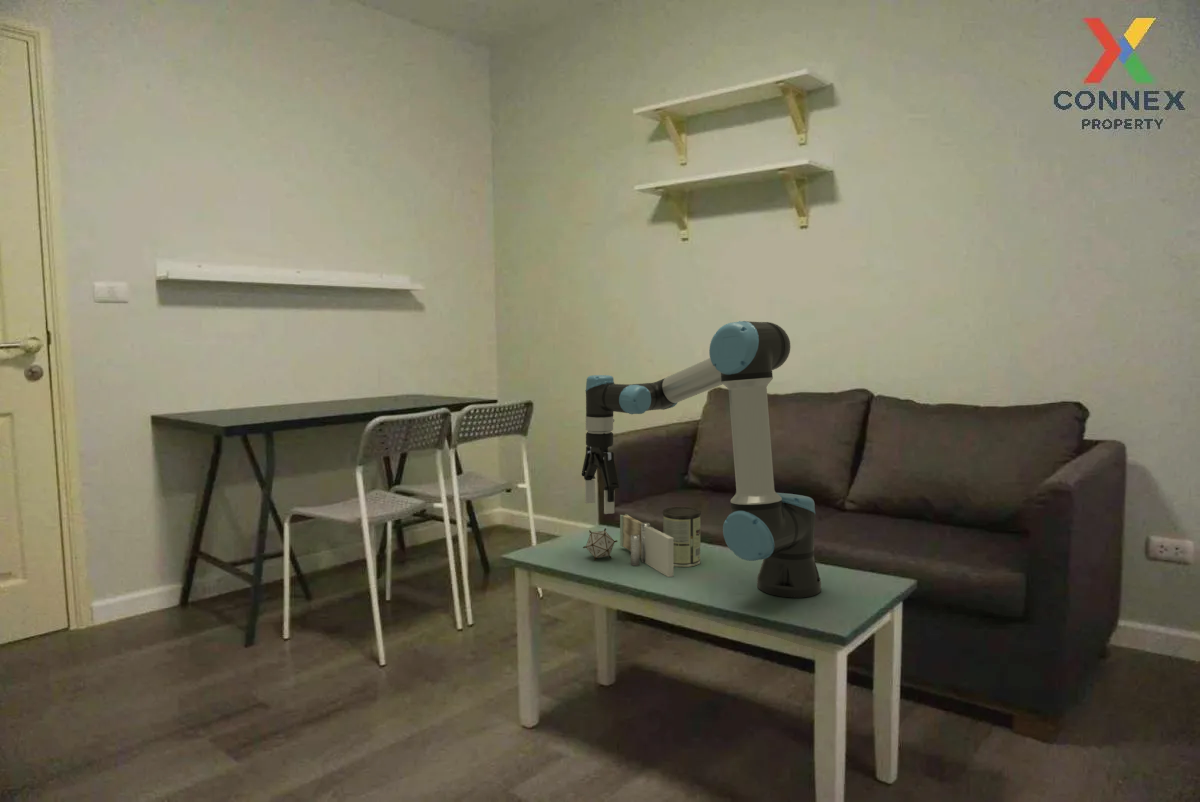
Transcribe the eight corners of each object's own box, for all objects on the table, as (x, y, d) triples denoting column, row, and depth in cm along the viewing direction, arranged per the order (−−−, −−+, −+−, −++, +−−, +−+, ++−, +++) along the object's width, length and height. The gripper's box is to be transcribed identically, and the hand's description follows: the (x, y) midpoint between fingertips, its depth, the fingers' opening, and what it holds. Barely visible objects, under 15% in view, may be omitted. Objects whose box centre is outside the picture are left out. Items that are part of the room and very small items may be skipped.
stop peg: (641, 565, 207) (641, 536, 206) (633, 566, 206) (633, 537, 206) (637, 562, 209) (637, 534, 209) (629, 564, 208) (629, 534, 208)
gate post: (651, 562, 210) (651, 524, 209) (643, 563, 209) (643, 525, 208) (647, 559, 212) (647, 522, 211) (639, 560, 211) (639, 523, 210)
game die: (606, 572, 213) (617, 549, 207) (577, 561, 213) (587, 538, 207) (612, 549, 220) (623, 526, 214) (584, 539, 220) (594, 515, 214)
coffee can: (662, 555, 216) (663, 506, 215) (700, 556, 215) (700, 507, 214) (662, 566, 206) (662, 514, 205) (701, 567, 205) (701, 515, 204)
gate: (646, 556, 212) (646, 523, 212) (639, 556, 211) (639, 524, 211) (626, 544, 224) (626, 514, 223) (620, 545, 223) (620, 514, 222)
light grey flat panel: (673, 576, 198) (673, 538, 197) (668, 577, 197) (668, 538, 196) (650, 562, 209) (650, 526, 209) (645, 563, 209) (645, 527, 208)
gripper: (631, 436, 201) (630, 516, 203) (594, 425, 224) (594, 497, 226) (605, 438, 198) (604, 519, 200) (570, 426, 221) (570, 499, 223)
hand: (599, 508), depth 213 cm, fingers open, 13 cm apart
